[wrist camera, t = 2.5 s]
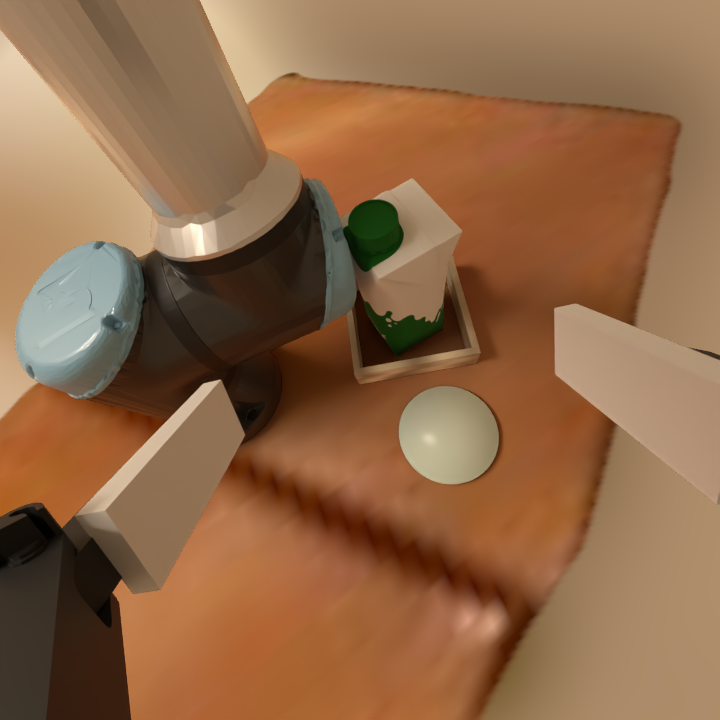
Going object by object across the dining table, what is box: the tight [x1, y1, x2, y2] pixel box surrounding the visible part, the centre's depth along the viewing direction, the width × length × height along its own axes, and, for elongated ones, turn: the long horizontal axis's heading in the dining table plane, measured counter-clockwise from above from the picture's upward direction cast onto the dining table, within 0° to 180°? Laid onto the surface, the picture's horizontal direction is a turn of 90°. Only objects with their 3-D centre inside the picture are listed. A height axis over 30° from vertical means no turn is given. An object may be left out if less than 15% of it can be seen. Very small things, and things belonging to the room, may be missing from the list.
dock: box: [346, 255, 481, 384], centre depth 43 cm, size 15×15×4 cm
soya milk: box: [340, 178, 462, 357], centre depth 35 cm, size 9×9×20 cm
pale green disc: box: [399, 386, 499, 484], centre depth 38 cm, size 11×11×1 cm
